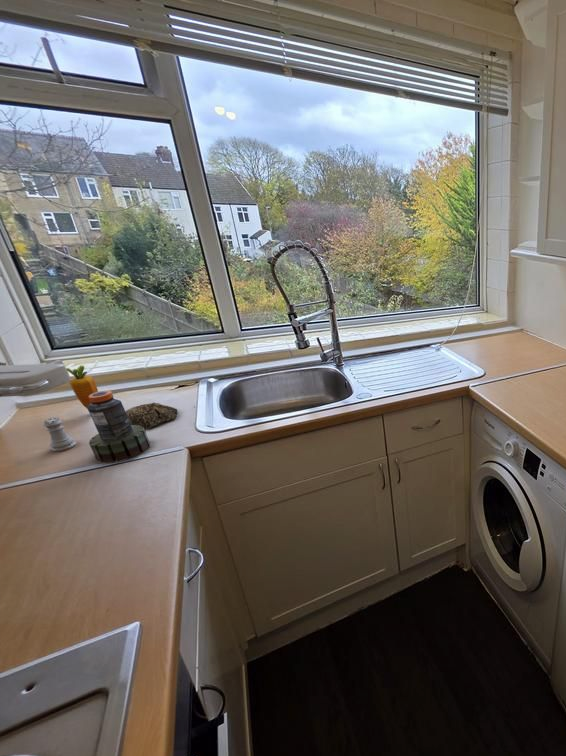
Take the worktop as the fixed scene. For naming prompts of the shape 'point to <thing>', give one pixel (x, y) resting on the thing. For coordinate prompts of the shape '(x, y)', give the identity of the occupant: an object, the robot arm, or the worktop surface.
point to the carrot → (82, 385)
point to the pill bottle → (109, 416)
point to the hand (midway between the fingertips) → (31, 364)
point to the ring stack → (120, 446)
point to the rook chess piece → (58, 435)
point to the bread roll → (150, 414)
